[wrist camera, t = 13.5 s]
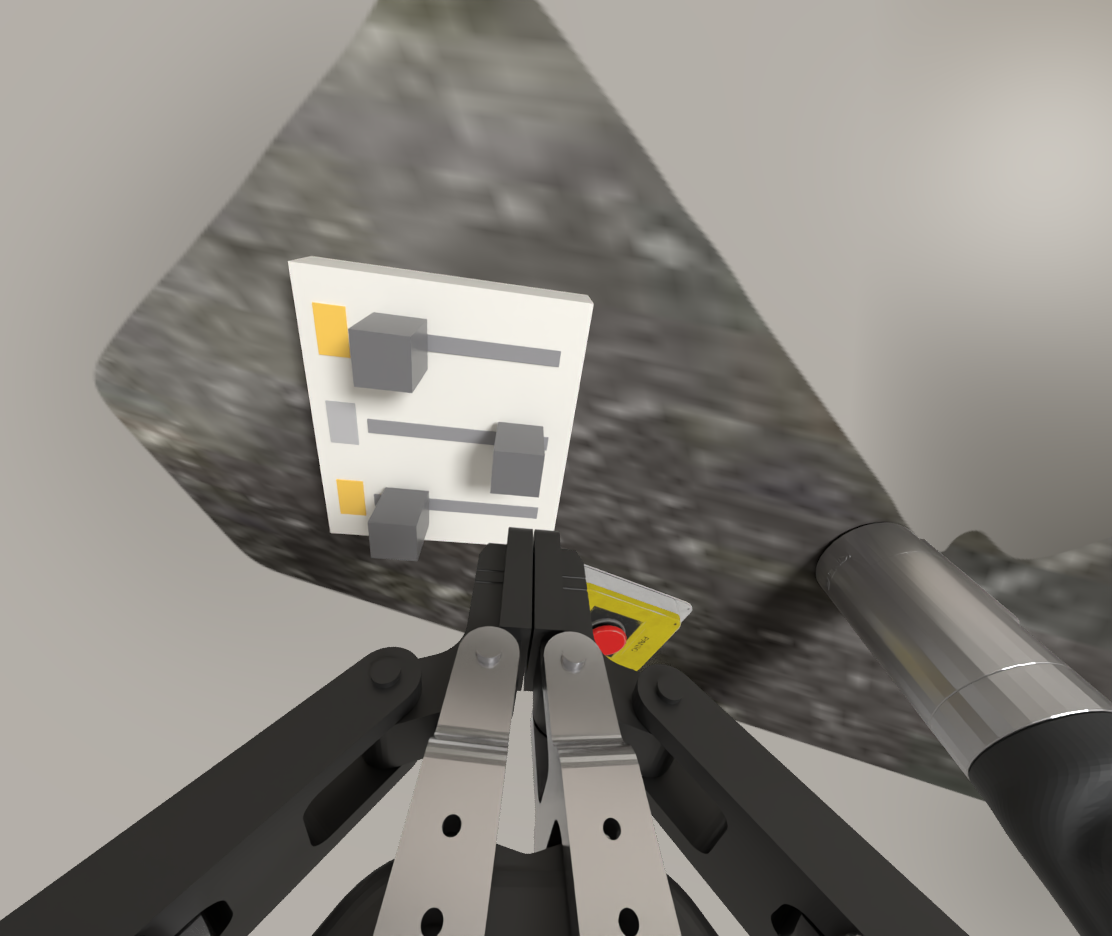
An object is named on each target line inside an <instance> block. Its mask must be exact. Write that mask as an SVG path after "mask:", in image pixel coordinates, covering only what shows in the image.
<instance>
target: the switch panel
mask: <svg viewBox="0 0 1112 936" xmlns="http://www.w3.org/2000/svg"><path fill="white" fill-rule="evenodd" d="M288 265H289V271H290V278H291V284H292V290H293V297H294V303H295V309H296V316H297V322H298V329H299V335H300V341H301V348H302V354H303V361H304V367H305V373H306V380H307V386H308V392H309V399H310V405H311V412H312V418H313V424H314V431H315V437H316V444H317V450H318V456H319V463H320V469H321V475H322V482H323V488H324V495H325V501H326V507H327V514H328V520H329V527H330V533H340V534H354V535H367V536H369V532H368V520H369V518H370V517H371V515H372V513H373V511H374V509H375V507H376V505H377V503H378V501H379V499H380V497H381V495H382V493H383V492H384V490H385V488H386V487H388V488H400V489H412V490H423V491H429V527H428V530H427V533H426V536H425V539H424V540H435V541H448V542H462V543H476V544H488V543H497V544H507V537H508V528H509V527H516V528H527V529H533V535H534V530H535V529H539V530H551V531H554V528H555V522H556V516H557V511H558V505H559V499H560V493H561V488H562V482H563V476H564V470H565V465H566V459H567V453H568V448H569V442H570V436H571V430H572V425H573V419H574V413H575V407H576V402H577V396H578V390H579V384H580V379H581V373H582V367H583V362H584V356H585V350H586V344H587V339H588V333H589V327H590V321H591V316H592V310H593V302H592V301H591V299H590V298H589V296H588V295H583V294H576V293H569V292H562V291H555V290H548V289H541V288H534V287H527V286H520V285H513V284H506V283H499V282H492V281H485V280H477V279H470V278H463V277H456V276H449V275H442V274H435V273H428V272H421V271H414V270H407V269H400V268H393V267H386V266H379V265H372V264H365V263H358V262H351V261H343V260H336V259H329V258H322V257H315V256H309V257H305V258H300V259H296V260H291V261H288ZM373 312H376V313H384V314H392V315H399V316H407V317H415V318H422V319H427V346H428V370H427V371H426V373H425V374H424V376H423V378H422V379H421V381H420V382H419V384H418V385H417V387H416V388H415V390H414V392H413V393H406V392H397V391H388V390H379V389H370V388H361V387H354V383H353V373H352V363H351V353H350V344H349V334H348V329H349V328H350V327H352V326H353V325H355V324H356V323H358V322H359V321H361V320H362V319H364V318H365V317H367V316H368V315H370V314H371V313H373ZM498 422H506V423H515V424H525V425H534V426H543V431H544V449H545V458H544V465H543V472H542V479H541V486H540V493H539V498H538V497H526V496H515V495H503V494H492V493H490V491H491V477H492V464H493V451H494V444H495V438H496V432H497V425H498Z"/></svg>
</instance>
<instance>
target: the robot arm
mask: <svg viewBox="0 0 1112 936" xmlns="http://www.w3.org/2000/svg"><path fill="white" fill-rule="evenodd" d="M816 579H817V581H818V583H819V585H820V586H821V587H822V589H823V590H824V591H825V593H826V594H827V595H828V597H829V598H830V599H831V600H832V602H833V603H834V604H835V606H836V607H837V608H838V610H839V611H840V612H841V613H842V615H843V616H844V618H845V619H846V620H847V622H848V623H849V624H850V625H851V627H852V628H853V629H854V631H855V632H856V633H857V635H858V636H859V637H860V638H861V640H862V641H863V642H864V644H865V645H866V646H867V648H868V649H869V650H870V651H871V653H872V654H873V655H874V657H875V658H876V659H877V661H878V662H879V663H880V664H881V666H882V667H883V668H884V670H885V671H886V672H887V674H888V675H889V676H890V678H891V679H892V680H893V681H894V683H895V684H896V685H897V687H898V688H899V689H900V691H901V692H902V693H903V694H904V696H905V697H906V698H907V700H908V701H909V702H910V704H911V705H912V706H913V707H914V709H915V710H916V711H917V713H918V714H919V715H920V717H921V718H922V719H923V720H924V722H925V723H926V724H927V726H928V727H929V728H930V730H931V731H932V732H933V733H934V734H935V736H936V737H937V738H938V740H939V741H940V742H941V744H942V745H943V746H944V747H945V749H946V750H947V751H948V753H949V754H950V755H951V757H952V758H953V759H954V761H955V762H956V763H957V764H958V766H959V767H960V768H961V770H962V771H963V772H964V774H965V775H966V776H967V777H968V779H969V780H970V782H971V783H972V784H973V786H974V787H975V788H976V790H977V791H978V792H979V793H980V795H981V796H982V797H983V799H984V800H985V801H986V803H987V804H988V805H989V807H990V808H991V810H992V811H993V813H994V814H995V816H996V818H997V819H998V821H999V822H1000V824H1001V826H1002V827H1003V829H1004V830H1005V832H1006V834H1007V835H1008V836H1009V838H1010V839H1011V841H1012V842H1013V844H1014V845H1015V846H1016V848H1017V849H1018V851H1019V852H1020V853H1021V854H1022V856H1023V857H1024V859H1025V860H1026V861H1027V863H1028V864H1029V865H1030V867H1031V868H1032V869H1033V871H1034V872H1035V873H1036V875H1037V876H1038V877H1039V879H1040V880H1041V881H1042V883H1043V884H1044V885H1045V887H1046V888H1047V889H1048V891H1049V892H1050V894H1051V895H1052V896H1053V898H1054V899H1055V901H1056V902H1057V903H1058V905H1059V906H1060V908H1061V909H1062V910H1063V912H1064V913H1065V915H1066V916H1067V917H1068V919H1069V920H1070V922H1071V923H1072V924H1073V926H1074V927H1075V929H1076V930H1077V931H1078V933H1079V934H1080V936H1112V702H1110V701H1109V700H1108V699H1107V698H1106V697H1105V696H1103V695H1102V694H1101V693H1100V692H1099V691H1098V690H1096V689H1095V688H1094V687H1093V686H1092V685H1090V684H1089V683H1088V682H1087V681H1086V680H1085V679H1083V678H1082V677H1081V676H1080V675H1079V674H1078V673H1076V672H1075V671H1074V670H1073V669H1071V668H1070V667H1069V666H1068V665H1067V664H1065V663H1064V662H1063V661H1062V660H1061V659H1060V658H1058V657H1057V656H1056V655H1055V654H1054V653H1053V652H1051V651H1050V650H1049V649H1048V648H1047V647H1046V646H1044V645H1043V644H1042V643H1041V642H1040V641H1039V640H1037V639H1036V638H1035V637H1034V636H1033V635H1031V634H1030V633H1029V632H1028V631H1027V630H1026V629H1024V628H1023V627H1022V626H1021V625H1020V622H1019V619H1018V618H1017V617H1016V616H1015V615H1014V614H1012V613H1011V612H1010V611H1009V610H1008V609H1006V608H1005V607H1004V606H1003V605H1002V604H1001V603H999V602H998V601H997V600H996V599H995V598H993V597H992V596H991V595H990V594H989V593H987V592H986V591H985V590H984V589H983V588H982V587H980V586H979V585H978V584H977V583H976V582H974V581H973V580H972V579H971V578H970V577H968V576H967V575H966V574H965V573H964V572H963V571H961V570H960V569H959V568H958V567H957V566H955V565H954V564H953V563H952V562H951V561H949V560H948V559H947V558H946V557H945V556H944V555H942V554H941V553H940V552H939V551H938V550H936V549H935V548H934V547H933V546H932V545H930V544H929V543H928V542H927V541H926V540H925V539H919V538H918V537H917V536H916V535H915V534H913V533H912V532H911V531H910V530H908V529H907V528H906V527H904V526H902V525H899V524H896V523H887V522H883V523H873V524H869V525H865V526H862V527H859V528H857V529H854V530H852V531H850V532H848V533H846V534H844V535H843V536H841V537H840V538H839V539H837V540H836V541H834V542H833V543H832V544H831V545H830V546H829V547H828V548H827V549H826V550H825V552H824V553H823V554H822V556H821V557H820V559H819V561H818V563H817V567H816ZM523 676H524V691H533V711H532V716H531V723H530V724H531V725H530V727H531V743H532V759H533V776H534V777H533V778H534V794H535V829H534V853H532V854H524V853H520V852H518V851H515V850H512V849H509V848H507V847H504V846H501V845H498V844H496V840H497V832H498V825H499V816H500V809H501V801H502V793H503V784H504V777H505V769H506V761H507V753H508V741H509V733H510V725H511V719H512V716H513V711H514V705H515V699H516V692H517V691H521V688H522V682H523ZM420 759H423V761H422V764H421V768H420V771H419V775H418V778H417V782H416V785H415V789H414V793H413V796H412V800H411V803H410V807H409V810H408V814H407V817H406V821H405V825H404V828H403V831H402V835H401V839H400V842H399V846H398V849H397V853H396V856H395V859H393V860H391V861H389V862H387V863H386V864H384V865H382V866H381V867H379V868H378V869H376V870H374V871H373V872H372V873H371V874H369V875H368V876H367V877H366V878H365V879H363V880H362V881H361V882H359V883H358V884H357V885H356V886H355V887H354V888H353V889H352V890H351V891H350V892H349V893H348V894H347V895H346V896H345V897H344V898H343V899H342V900H341V902H340V903H339V904H338V905H337V906H336V907H335V908H334V910H333V911H332V912H331V913H330V914H329V916H328V917H327V918H326V919H325V920H324V922H323V923H322V924H321V925H320V926H319V928H318V929H317V930H316V931H315V932H314V933H313V935H312V936H718V934H717V933H716V932H715V930H714V929H713V928H712V926H711V925H710V923H709V922H708V921H707V919H706V918H705V917H704V915H703V914H702V912H701V911H700V910H699V908H698V907H697V906H696V904H695V903H694V902H693V901H692V899H691V898H690V897H689V896H688V895H687V893H686V892H685V891H684V890H683V889H682V888H681V887H680V886H679V885H678V884H677V883H676V882H675V881H674V880H673V879H672V878H671V877H670V876H669V875H667V874H666V872H665V868H664V864H663V860H662V856H661V852H660V848H659V844H658V840H657V836H656V832H655V828H654V824H653V820H652V816H653V817H654V818H655V819H656V821H657V822H658V823H659V824H660V826H661V827H662V828H663V829H664V831H665V832H666V833H667V834H668V835H669V837H670V838H671V839H672V840H673V842H674V843H675V844H676V845H677V847H678V848H679V849H680V850H681V852H682V853H683V854H684V855H685V857H686V858H687V859H688V860H689V861H690V863H691V864H692V865H693V866H694V868H695V869H696V870H697V871H698V873H699V874H700V875H701V876H702V878H703V879H704V880H705V881H706V882H707V884H708V885H709V886H710V887H711V889H712V890H713V891H714V892H715V893H716V895H717V896H718V897H719V898H720V900H721V901H722V902H723V903H724V905H725V906H726V907H727V908H728V910H729V911H730V912H731V913H732V915H733V916H734V917H735V918H736V919H737V921H738V922H739V923H740V924H741V925H742V927H743V928H744V929H745V931H746V932H747V933H748V934H749V935H750V936H969V935H968V934H967V933H966V932H965V931H963V930H962V929H961V928H960V927H959V926H958V925H957V924H956V923H955V922H954V921H952V919H950V918H949V917H948V916H947V915H946V914H945V913H944V912H943V911H942V910H941V909H940V908H938V907H937V906H936V905H935V904H934V903H933V902H932V901H931V900H930V899H929V898H927V896H925V895H924V894H923V893H922V892H921V891H920V890H919V889H918V888H917V887H916V886H914V885H913V884H912V883H911V882H910V881H909V880H908V879H907V878H906V877H905V876H904V875H903V874H901V873H900V872H899V871H898V870H897V869H896V868H895V867H894V866H893V865H892V864H891V863H889V862H888V861H887V860H886V859H885V858H884V857H883V856H882V855H881V854H880V853H879V852H878V851H876V850H875V849H874V848H873V847H872V846H871V845H870V844H869V843H868V842H867V841H866V840H864V839H863V838H862V837H861V836H860V835H859V834H858V833H857V832H856V831H855V830H853V828H851V827H850V826H849V825H848V824H847V823H846V822H845V821H844V820H843V819H842V818H841V817H840V816H838V815H837V814H836V813H835V812H834V811H833V810H832V809H831V808H830V807H828V806H827V805H826V804H825V803H824V802H823V801H822V800H821V799H820V798H819V797H818V796H817V795H816V794H815V793H813V792H812V791H811V790H810V789H809V788H808V787H807V786H806V785H805V784H804V783H803V782H801V781H800V780H799V779H798V778H797V777H796V776H795V775H794V774H793V773H792V772H790V770H788V769H787V768H786V767H785V766H784V765H783V764H782V763H781V762H780V761H779V760H778V759H776V758H775V757H774V756H773V755H772V754H771V753H770V752H769V751H768V750H767V749H766V748H765V747H763V746H762V745H761V744H760V743H759V742H758V741H757V740H756V739H755V738H754V737H752V736H751V735H750V734H749V733H748V732H747V731H746V730H745V729H744V728H743V727H742V726H740V725H739V724H738V723H737V722H736V721H735V720H734V719H733V718H732V717H731V716H730V715H729V714H728V713H726V712H725V711H724V710H723V709H722V708H721V707H720V706H719V705H718V704H717V703H716V702H714V701H713V700H712V699H711V698H710V697H709V696H708V695H707V694H706V693H705V692H704V691H703V690H701V689H700V688H699V687H698V686H697V685H696V684H695V683H694V682H693V681H692V680H691V679H689V678H688V677H687V676H686V675H685V674H684V673H682V672H681V671H679V670H678V669H676V668H674V667H671V666H668V665H664V664H655V665H651V666H648V667H647V668H645V669H644V670H643V671H642V672H638V671H635V670H632V669H630V668H627V667H624V666H622V665H619V664H617V663H615V662H613V661H612V660H610V659H609V658H608V657H606V656H605V655H604V654H603V653H602V652H601V650H600V648H599V647H598V646H597V644H596V642H595V639H594V635H593V629H592V621H591V613H590V606H589V598H588V592H587V583H586V575H585V568H584V562H583V561H582V559H581V558H580V556H579V555H578V553H577V552H576V550H568V549H561V548H560V534H559V531H551V530H539V529H535V530H534V535H533V529H527V528H516V527H509V528H508V537H507V544H497V543H488V544H487V546H486V547H485V548H484V549H483V551H482V552H481V553H480V554H479V560H478V565H477V571H476V577H475V583H474V589H473V595H472V600H471V606H470V612H469V618H468V624H467V628H466V631H465V634H464V636H463V637H462V638H461V640H460V641H459V642H458V643H457V644H456V645H455V646H453V647H452V648H450V649H449V650H447V651H445V652H443V653H439V654H436V655H432V656H428V657H424V658H419V659H418V658H417V657H416V656H415V655H414V654H413V653H412V652H411V651H409V650H406V649H404V648H399V647H387V648H382V649H379V650H376V651H374V652H372V653H370V654H369V655H367V656H366V657H364V658H363V659H361V660H360V661H359V662H357V663H356V664H355V665H353V666H352V667H350V668H349V669H348V670H346V671H345V672H344V673H342V674H341V675H339V676H338V677H336V678H335V679H334V680H333V681H331V682H330V683H328V684H327V685H325V686H324V687H323V688H321V689H320V690H319V691H317V692H316V693H314V694H313V695H312V696H310V697H309V698H307V699H306V700H305V701H303V702H302V703H301V704H299V705H298V706H296V707H295V708H294V709H292V710H291V711H289V712H288V713H287V714H285V715H284V716H283V717H281V718H280V719H279V720H277V721H276V722H274V723H273V724H271V725H270V726H269V727H267V728H266V729H265V730H263V731H262V732H260V733H259V734H258V735H256V736H255V737H254V738H252V739H251V740H249V741H248V742H247V743H246V744H244V745H242V746H241V747H240V748H238V749H237V750H236V751H234V752H233V753H231V754H230V755H229V756H227V757H226V758H224V759H223V760H222V761H220V762H219V763H218V764H216V765H215V766H213V767H212V768H211V769H210V770H208V771H207V772H205V773H204V774H202V775H201V776H200V777H198V778H197V779H195V780H194V781H193V782H191V783H190V784H189V785H187V786H186V787H184V788H183V789H182V790H180V791H179V792H178V793H176V794H175V795H173V796H172V797H171V798H169V799H168V800H166V801H165V802H164V803H162V804H161V805H160V806H158V807H157V808H155V809H154V810H153V811H151V812H150V813H148V814H147V815H146V816H144V817H143V818H142V819H140V820H139V821H137V822H136V823H135V824H133V825H132V826H130V827H129V828H128V829H127V830H125V831H124V832H122V833H121V834H119V835H118V836H117V837H115V838H114V839H113V840H111V841H110V842H108V843H107V844H106V845H104V846H103V847H101V848H100V849H99V850H97V851H96V852H95V853H93V854H92V855H91V856H89V857H88V858H87V859H85V860H84V861H82V862H81V863H79V864H78V865H77V866H75V867H74V868H72V869H71V870H70V871H68V872H67V873H66V874H64V875H63V876H61V877H60V878H59V879H57V880H56V881H54V882H53V883H52V884H50V885H49V886H48V887H46V888H45V889H44V890H42V891H41V892H39V893H38V894H37V895H35V896H34V897H32V898H31V899H30V900H28V901H27V902H25V903H24V904H23V905H21V906H20V907H19V908H17V909H16V910H14V911H13V912H12V913H10V914H9V915H8V916H6V917H5V918H3V919H2V920H1V921H0V936H248V934H249V933H251V932H252V931H253V930H254V928H255V927H256V926H257V925H258V924H259V923H260V922H261V921H262V920H263V919H264V918H265V917H266V916H267V915H268V914H269V913H270V912H271V911H272V910H273V909H274V908H275V907H276V906H277V905H278V904H279V903H280V902H281V901H282V900H283V899H284V898H285V897H286V896H287V895H288V894H289V893H290V892H291V891H292V889H294V887H296V886H297V884H298V883H300V881H301V880H302V879H303V878H304V877H305V876H306V875H307V874H308V873H309V872H310V871H311V870H312V869H313V868H314V867H315V866H316V865H317V864H318V863H319V862H320V861H321V860H322V859H323V858H324V857H325V856H326V855H327V854H328V853H329V852H330V851H331V850H332V849H333V848H334V847H335V846H336V845H337V844H338V843H339V842H340V841H341V839H342V838H344V837H345V836H346V834H347V833H348V832H349V831H350V830H351V829H352V828H353V827H354V826H355V825H356V824H357V823H358V822H359V821H360V820H361V819H362V818H363V817H364V816H365V815H366V814H367V813H368V812H369V811H370V810H371V809H372V808H373V807H374V806H375V805H376V804H377V802H379V801H380V800H381V799H382V798H383V797H384V796H385V795H386V794H387V792H389V791H390V789H392V787H393V786H394V785H395V784H396V783H397V782H398V781H399V780H400V779H401V778H402V777H403V776H404V775H405V774H406V773H407V772H408V771H409V770H410V769H411V768H412V767H413V766H414V765H415V763H416V762H417V760H420ZM651 815H652V816H651Z"/></svg>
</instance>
